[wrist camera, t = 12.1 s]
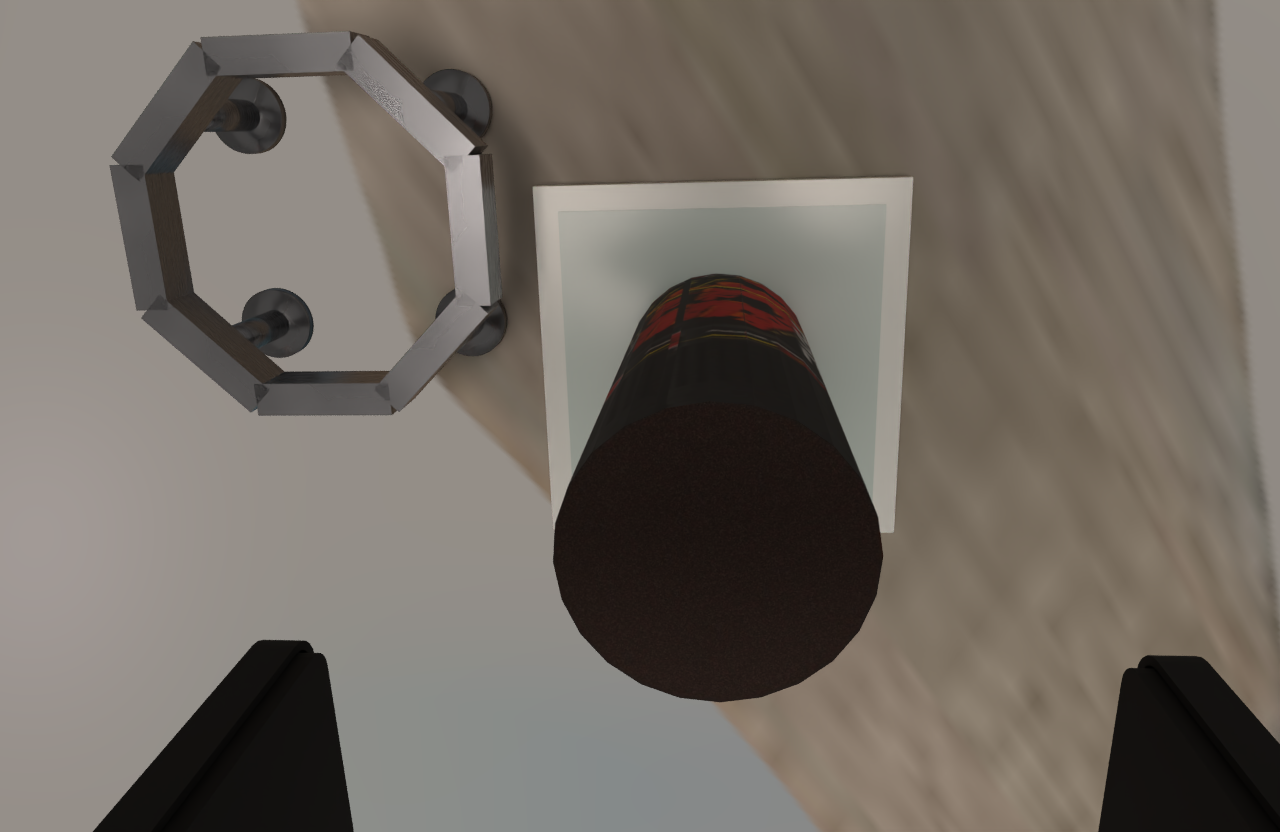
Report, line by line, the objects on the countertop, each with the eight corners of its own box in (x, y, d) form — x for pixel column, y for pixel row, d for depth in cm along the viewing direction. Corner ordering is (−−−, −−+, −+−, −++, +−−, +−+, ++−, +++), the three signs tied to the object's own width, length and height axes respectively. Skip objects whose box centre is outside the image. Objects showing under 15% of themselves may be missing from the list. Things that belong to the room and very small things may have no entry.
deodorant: (846, 357, 31) (954, 555, 16) (722, 480, 32) (721, 757, 18) (714, 235, 30) (707, 330, 16) (593, 366, 32) (487, 562, 17)
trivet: (537, 185, 31) (531, 187, 30) (908, 176, 30) (914, 177, 29) (557, 521, 34) (552, 530, 33) (889, 523, 33) (894, 533, 32)
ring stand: (185, 55, 31) (86, 41, 26) (510, 43, 30) (469, 26, 25) (236, 375, 34) (156, 416, 29) (531, 373, 33) (498, 414, 28)
